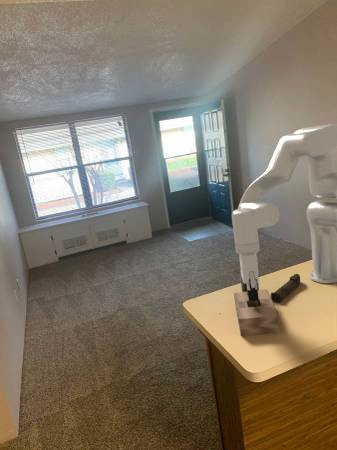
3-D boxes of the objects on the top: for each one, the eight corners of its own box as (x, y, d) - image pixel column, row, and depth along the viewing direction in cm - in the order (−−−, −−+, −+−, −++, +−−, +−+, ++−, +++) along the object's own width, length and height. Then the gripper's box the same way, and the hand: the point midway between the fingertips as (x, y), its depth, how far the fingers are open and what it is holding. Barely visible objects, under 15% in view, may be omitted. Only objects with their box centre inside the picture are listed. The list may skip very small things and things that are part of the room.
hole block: (268, 304, 121) (267, 289, 120) (279, 332, 104) (277, 315, 102) (235, 307, 123) (233, 293, 121) (240, 335, 106) (238, 319, 104)
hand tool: (280, 304, 120) (279, 292, 119) (270, 301, 123) (269, 290, 122) (306, 284, 131) (306, 273, 130) (297, 282, 135) (296, 271, 133)
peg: (257, 303, 113) (254, 276, 111) (258, 307, 110) (256, 280, 108) (248, 304, 114) (245, 277, 111) (249, 308, 111) (246, 281, 108)
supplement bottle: (238, 293, 133) (235, 266, 130) (248, 286, 137) (245, 260, 134) (253, 297, 128) (249, 269, 125) (263, 290, 132) (259, 262, 129)
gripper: (233, 240, 115) (239, 288, 120) (237, 256, 100) (244, 311, 104) (255, 237, 114) (260, 286, 119) (263, 253, 98) (268, 308, 103)
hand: (252, 297), depth 111 cm, fingers closed on peg, 3 cm apart
